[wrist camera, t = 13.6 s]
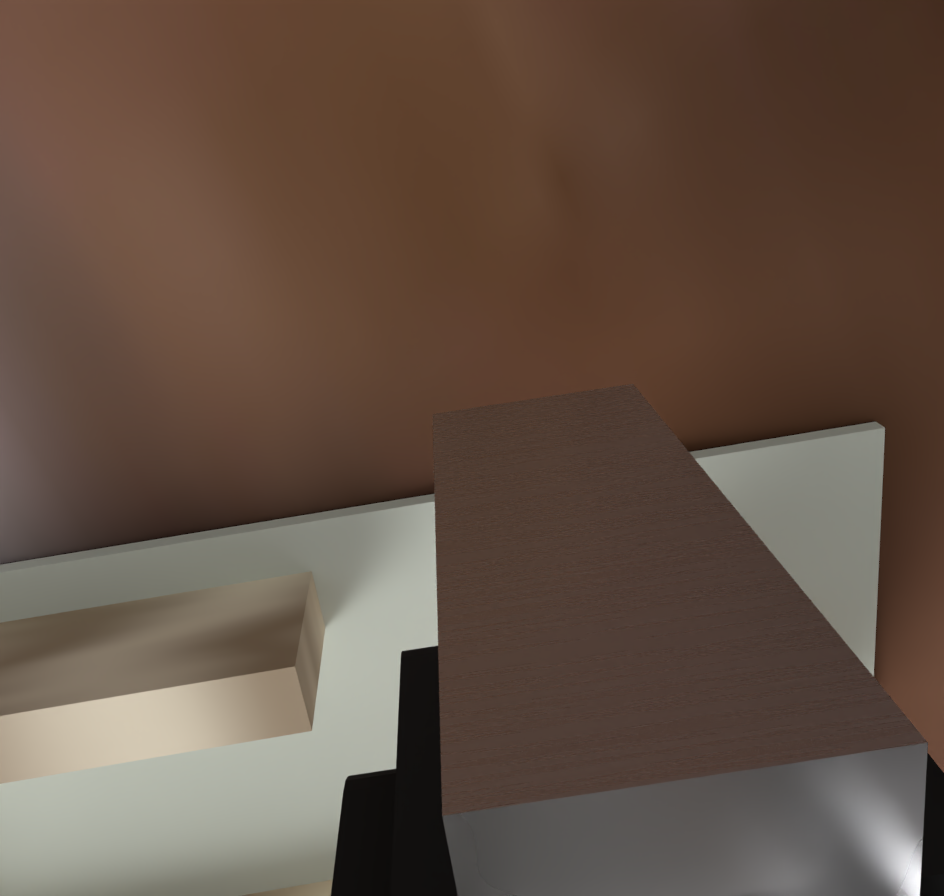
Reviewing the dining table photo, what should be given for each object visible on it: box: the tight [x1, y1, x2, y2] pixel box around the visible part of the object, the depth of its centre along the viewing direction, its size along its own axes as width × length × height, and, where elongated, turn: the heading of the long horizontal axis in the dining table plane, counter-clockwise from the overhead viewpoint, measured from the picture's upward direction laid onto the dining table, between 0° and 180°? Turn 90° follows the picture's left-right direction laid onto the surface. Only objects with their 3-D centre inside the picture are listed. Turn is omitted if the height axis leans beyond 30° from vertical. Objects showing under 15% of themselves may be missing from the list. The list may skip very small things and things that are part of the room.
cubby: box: [0, 571, 333, 896], centre depth 19 cm, size 14×11×4 cm
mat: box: [0, 422, 885, 896], centre depth 21 cm, size 26×13×1 cm, turn 98°
